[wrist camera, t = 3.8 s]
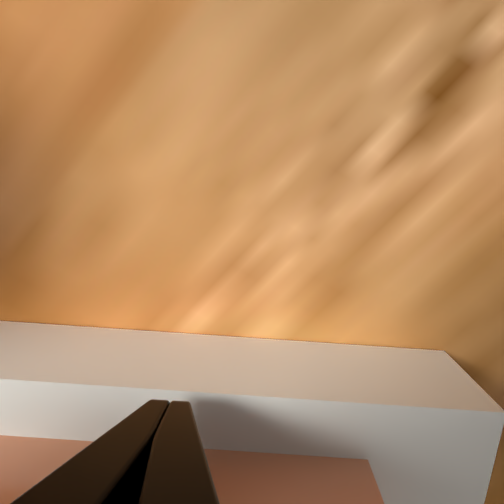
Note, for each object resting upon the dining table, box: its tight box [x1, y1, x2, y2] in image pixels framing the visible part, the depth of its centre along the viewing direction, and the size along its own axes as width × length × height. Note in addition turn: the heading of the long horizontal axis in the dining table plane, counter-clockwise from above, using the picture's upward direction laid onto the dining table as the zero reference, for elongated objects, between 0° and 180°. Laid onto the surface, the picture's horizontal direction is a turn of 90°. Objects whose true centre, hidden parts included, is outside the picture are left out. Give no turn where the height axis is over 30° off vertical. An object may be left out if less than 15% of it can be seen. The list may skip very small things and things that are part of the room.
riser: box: [0, 321, 504, 504], centre depth 11 cm, size 15×6×3 cm, turn 86°
